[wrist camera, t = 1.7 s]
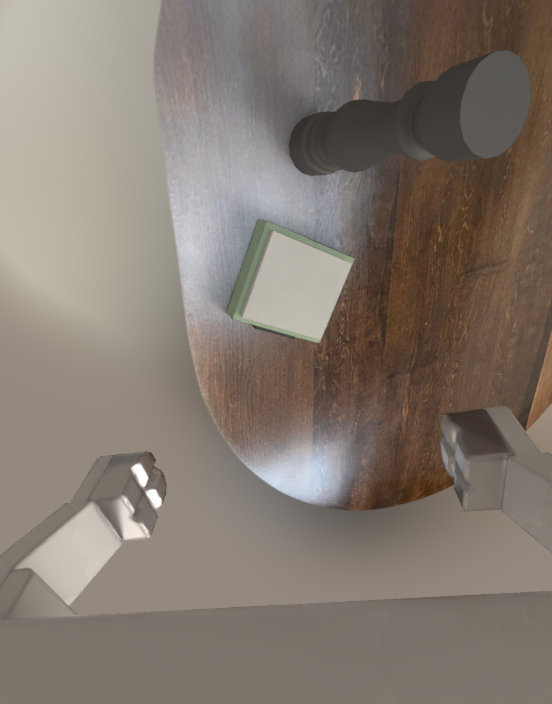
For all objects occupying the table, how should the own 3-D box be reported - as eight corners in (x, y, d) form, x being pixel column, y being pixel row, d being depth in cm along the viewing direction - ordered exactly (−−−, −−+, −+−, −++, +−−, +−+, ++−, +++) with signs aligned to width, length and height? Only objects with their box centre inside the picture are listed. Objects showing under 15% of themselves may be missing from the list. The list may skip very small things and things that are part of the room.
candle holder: (310, 187, 46) (479, 184, 25) (278, 143, 43) (440, 98, 22) (345, 149, 46) (544, 114, 25) (315, 103, 43) (515, 16, 22)
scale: (224, 316, 48) (233, 325, 45) (258, 219, 45) (269, 221, 42) (308, 339, 54) (321, 349, 51) (342, 255, 51) (358, 260, 48)
